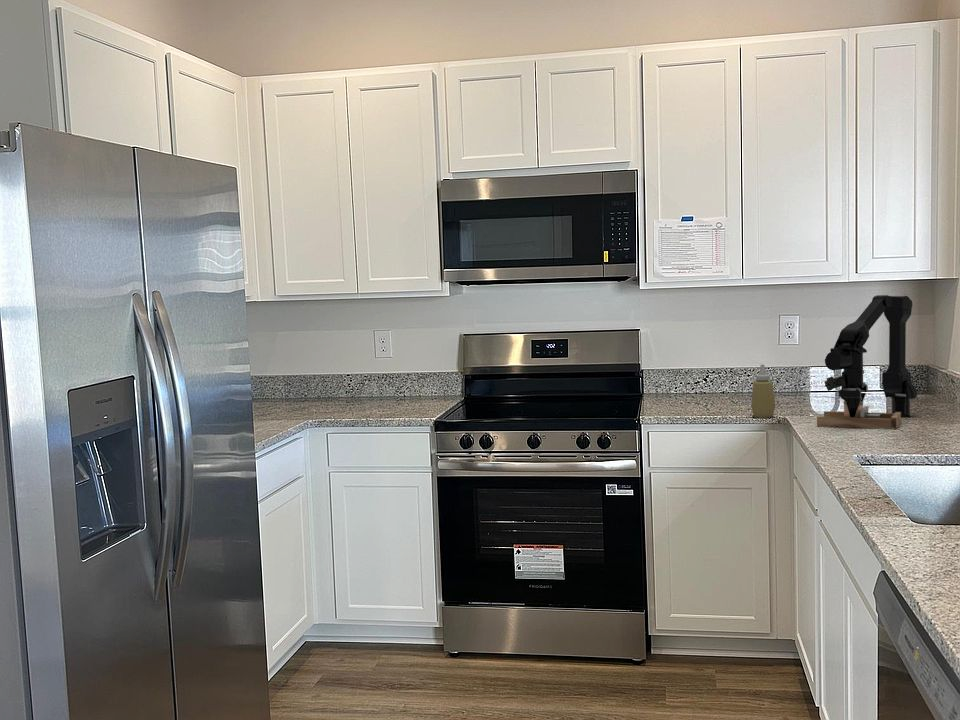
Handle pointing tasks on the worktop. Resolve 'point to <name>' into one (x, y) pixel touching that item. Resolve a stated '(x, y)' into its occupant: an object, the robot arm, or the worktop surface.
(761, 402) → the squeeze bottle
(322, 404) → the worktop surface
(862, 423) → the tray
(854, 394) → the robot arm
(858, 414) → the jar
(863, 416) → the pusher
